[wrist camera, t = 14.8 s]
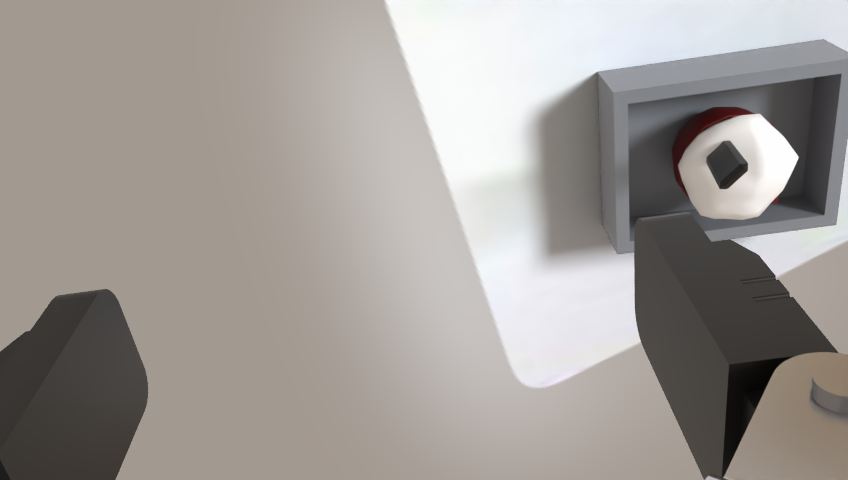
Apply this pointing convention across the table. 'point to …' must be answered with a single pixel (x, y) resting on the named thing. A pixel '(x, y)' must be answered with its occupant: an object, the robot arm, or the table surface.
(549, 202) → the table surface
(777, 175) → the cocoa
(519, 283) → the table surface
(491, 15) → the table surface
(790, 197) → the dock tray
